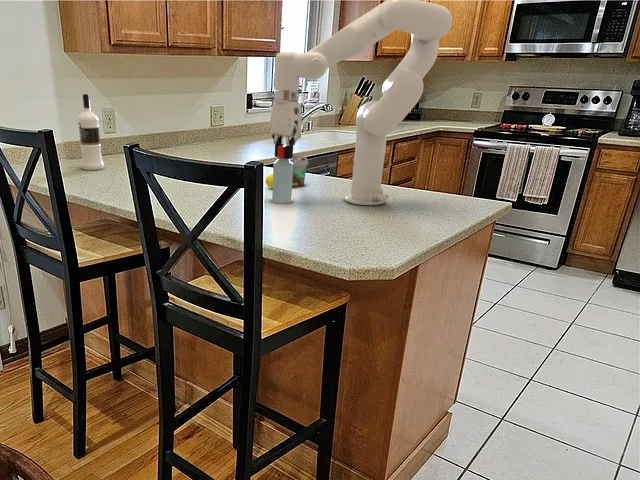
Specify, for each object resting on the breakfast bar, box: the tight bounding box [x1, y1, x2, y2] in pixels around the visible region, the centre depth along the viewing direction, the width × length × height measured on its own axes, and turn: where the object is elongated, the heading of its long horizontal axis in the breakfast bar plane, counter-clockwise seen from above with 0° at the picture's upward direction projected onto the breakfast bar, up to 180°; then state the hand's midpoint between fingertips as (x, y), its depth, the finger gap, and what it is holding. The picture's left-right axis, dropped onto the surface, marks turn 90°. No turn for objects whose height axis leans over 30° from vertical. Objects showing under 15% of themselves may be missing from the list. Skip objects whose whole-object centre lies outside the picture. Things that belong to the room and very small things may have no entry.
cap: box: [276, 144, 287, 158], centre depth 168 cm, size 4×4×4 cm
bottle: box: [271, 157, 293, 205], centre depth 171 cm, size 6×6×18 cm
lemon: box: [265, 173, 273, 189], centre depth 192 cm, size 7×5×5 cm
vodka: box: [77, 93, 105, 171], centre depth 220 cm, size 9×9×30 cm
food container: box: [289, 155, 309, 188], centre depth 197 cm, size 12×6×10 cm, turn 168°
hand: (283, 156), depth 169 cm, fingers closed on cap, 3 cm apart
